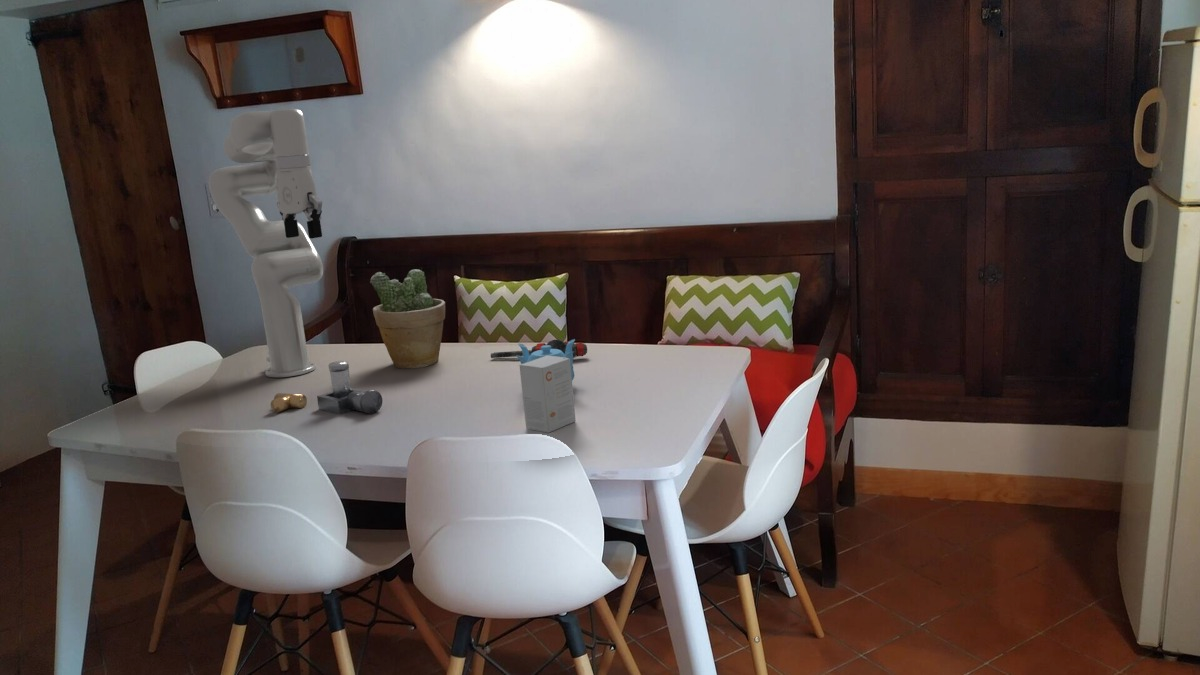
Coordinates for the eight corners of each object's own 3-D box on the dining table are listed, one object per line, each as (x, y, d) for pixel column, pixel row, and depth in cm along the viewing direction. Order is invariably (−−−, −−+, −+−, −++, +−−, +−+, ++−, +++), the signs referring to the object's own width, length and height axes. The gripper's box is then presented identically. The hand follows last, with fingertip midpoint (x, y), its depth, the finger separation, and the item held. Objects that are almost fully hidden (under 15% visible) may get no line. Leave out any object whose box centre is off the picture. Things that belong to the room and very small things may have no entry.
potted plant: (418, 352, 257) (407, 262, 251) (467, 357, 246) (456, 263, 240) (365, 368, 242) (353, 273, 237) (415, 375, 231) (403, 275, 226)
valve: (600, 357, 243) (581, 364, 229) (508, 362, 251) (485, 369, 237) (598, 333, 243) (579, 338, 229) (506, 339, 251) (482, 344, 237)
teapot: (519, 400, 203) (514, 355, 200) (522, 384, 215) (518, 341, 213) (578, 395, 203) (574, 350, 200) (578, 379, 215) (574, 336, 213)
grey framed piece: (318, 409, 208) (315, 387, 207) (349, 399, 214) (346, 378, 212) (358, 418, 198) (355, 395, 197) (389, 408, 204) (386, 386, 203)
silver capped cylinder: (331, 407, 208) (324, 364, 206) (346, 402, 211) (340, 360, 209) (341, 410, 205) (335, 366, 203) (357, 405, 208) (351, 361, 206)
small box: (553, 417, 188) (547, 354, 185) (576, 421, 184) (571, 357, 181) (524, 428, 182) (518, 364, 179) (548, 433, 178) (542, 367, 175)
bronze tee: (307, 405, 211) (305, 393, 211) (288, 413, 206) (286, 400, 205) (284, 404, 214) (282, 391, 214) (265, 411, 209) (262, 399, 208)
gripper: (259, 166, 219) (270, 239, 223) (299, 163, 208) (310, 240, 212) (287, 164, 225) (297, 234, 229) (328, 161, 214) (338, 235, 218)
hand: (304, 237), depth 220 cm, fingers open, 9 cm apart
